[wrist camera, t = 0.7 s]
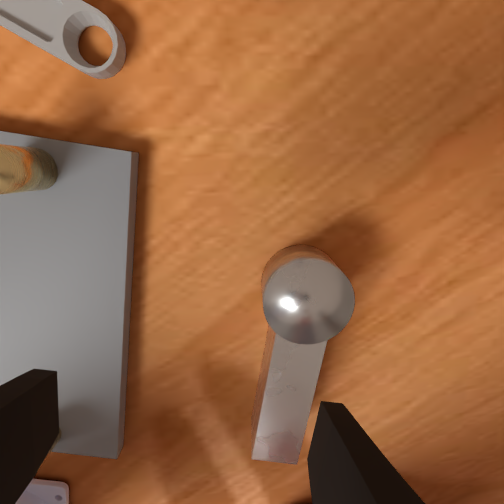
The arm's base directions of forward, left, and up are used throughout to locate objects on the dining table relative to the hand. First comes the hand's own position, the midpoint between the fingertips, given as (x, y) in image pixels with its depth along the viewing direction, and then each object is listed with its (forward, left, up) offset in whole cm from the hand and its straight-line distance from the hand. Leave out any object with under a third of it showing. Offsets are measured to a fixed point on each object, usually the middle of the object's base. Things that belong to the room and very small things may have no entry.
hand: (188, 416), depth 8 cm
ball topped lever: (-3, -4, -10) cm, 11 cm away
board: (-3, +10, -10) cm, 14 cm away
